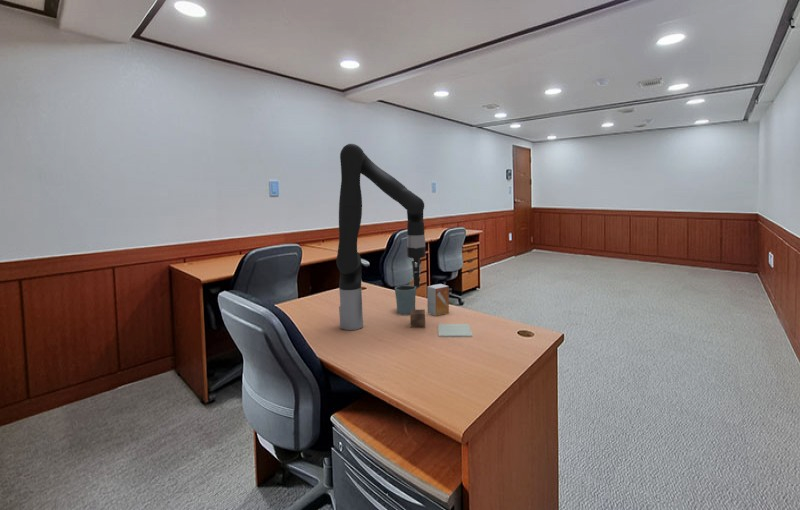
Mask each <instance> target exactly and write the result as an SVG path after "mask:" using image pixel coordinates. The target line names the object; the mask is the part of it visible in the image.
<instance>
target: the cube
mask: <svg viewBox="0 0 800 510" xmlns="http://www.w3.org/2000/svg"><path fill="white" fill-rule="evenodd" d="M425 310H426V309H415V310H411V313H410V314H409V316H410V317H409V319H410V328H411V329H412V328H423V329H424V328H426V311H425Z"/></svg>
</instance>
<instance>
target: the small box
mask: <svg viewBox="0 0 800 510" xmlns="http://www.w3.org/2000/svg"><path fill="white" fill-rule="evenodd" d="M426 290H427V294H426V295H427V296H426V297H427V314H429V315H432V316H434V317H437V316H441V315H445V314H449V313H450V309H449V307H450V301H449V300H450V293H449V291H450V286H449V285H446V284H444V283H443V284H442V283H438V284H432V285H428V286H427V287H426Z"/></svg>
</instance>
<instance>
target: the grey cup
mask: <svg viewBox="0 0 800 510" xmlns="http://www.w3.org/2000/svg"><path fill="white" fill-rule="evenodd" d="M394 291H395V292H394V293H395V300H396V301H395V302H396V312H397V314H398V315H405V316H408V315H409V316H410V313H411V310H416V294H417V287H415V286H414V285H411V284H404V285H403V284H402V285H398V286H395V287H394Z"/></svg>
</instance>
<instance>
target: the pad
mask: <svg viewBox="0 0 800 510" xmlns="http://www.w3.org/2000/svg"><path fill="white" fill-rule="evenodd" d="M437 328H438V331H437V333H438V337H439V338H473V333H472V329H471V325H470V323H438V324H437Z"/></svg>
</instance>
